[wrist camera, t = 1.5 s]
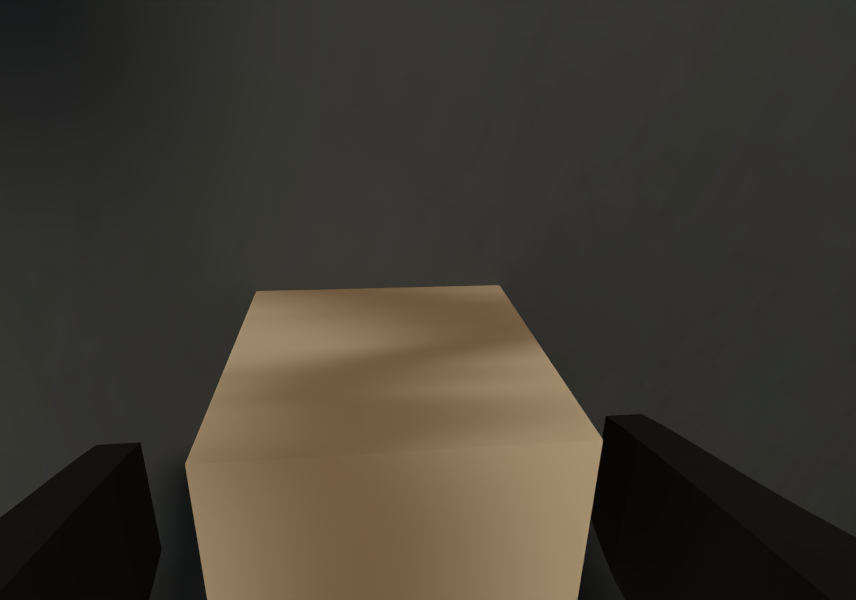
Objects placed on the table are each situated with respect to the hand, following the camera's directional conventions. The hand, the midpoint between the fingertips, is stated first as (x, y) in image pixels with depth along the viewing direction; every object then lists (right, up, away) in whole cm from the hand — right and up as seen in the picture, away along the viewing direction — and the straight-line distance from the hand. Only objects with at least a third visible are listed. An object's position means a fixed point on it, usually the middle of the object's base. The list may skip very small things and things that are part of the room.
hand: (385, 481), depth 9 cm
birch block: (0, +1, +3) cm, 3 cm away
